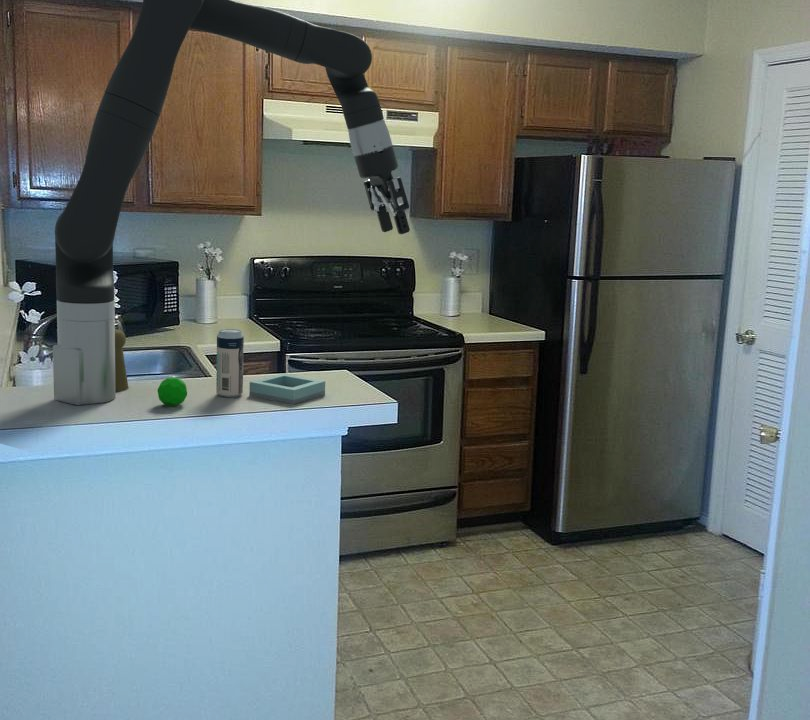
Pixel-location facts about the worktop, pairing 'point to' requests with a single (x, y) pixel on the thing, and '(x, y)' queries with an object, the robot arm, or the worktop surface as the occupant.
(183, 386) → the polyhedron
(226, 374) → the beer can
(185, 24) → the robot arm
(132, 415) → the worktop surface
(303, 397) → the tray
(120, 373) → the brown pawn
